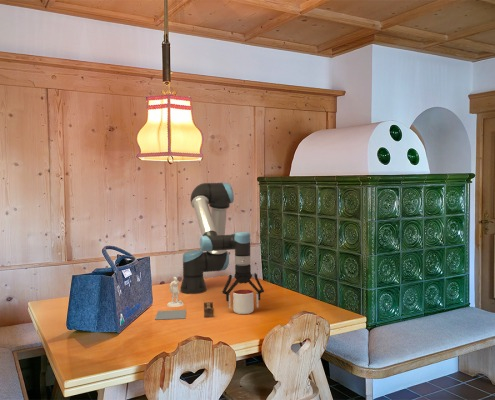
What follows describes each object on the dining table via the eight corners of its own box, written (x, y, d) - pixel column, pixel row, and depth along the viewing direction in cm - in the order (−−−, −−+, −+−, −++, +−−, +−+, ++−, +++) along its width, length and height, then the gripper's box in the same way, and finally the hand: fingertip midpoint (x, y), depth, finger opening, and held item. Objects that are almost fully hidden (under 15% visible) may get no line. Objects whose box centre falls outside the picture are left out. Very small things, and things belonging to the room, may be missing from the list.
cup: (229, 312, 234) (228, 292, 233) (243, 308, 241) (242, 288, 240) (244, 316, 227) (243, 295, 226) (258, 311, 234) (257, 291, 234)
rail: (204, 310, 237) (203, 302, 237) (212, 310, 238) (212, 302, 238) (204, 317, 225) (204, 309, 225) (213, 317, 226) (213, 308, 226)
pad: (157, 311, 236) (157, 311, 236) (186, 310, 238) (186, 309, 238) (155, 320, 222) (154, 319, 222) (185, 318, 224) (185, 318, 224)
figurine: (169, 307, 244) (168, 278, 243) (164, 303, 252) (164, 275, 251) (185, 305, 247) (185, 276, 246) (181, 301, 255) (180, 273, 255)
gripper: (217, 266, 228) (218, 310, 229) (269, 264, 230) (269, 308, 231) (216, 263, 235) (217, 306, 236) (267, 261, 238) (267, 304, 239)
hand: (243, 307), depth 234 cm, fingers open, 13 cm apart
